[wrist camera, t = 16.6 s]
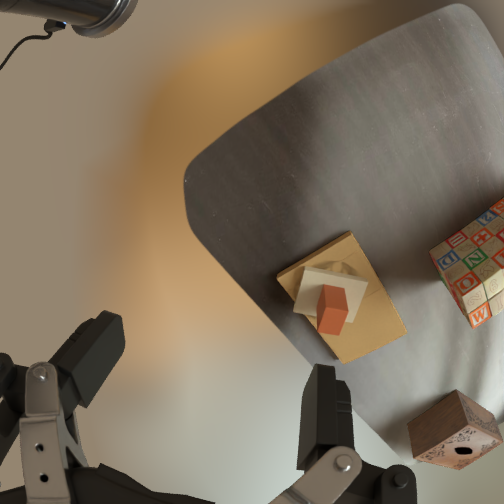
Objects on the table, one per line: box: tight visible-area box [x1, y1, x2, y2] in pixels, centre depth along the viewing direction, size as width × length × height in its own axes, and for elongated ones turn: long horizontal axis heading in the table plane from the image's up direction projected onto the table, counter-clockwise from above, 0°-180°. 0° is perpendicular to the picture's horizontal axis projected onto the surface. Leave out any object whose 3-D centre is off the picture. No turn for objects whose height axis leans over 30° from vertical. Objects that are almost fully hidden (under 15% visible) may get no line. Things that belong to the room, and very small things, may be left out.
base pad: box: [277, 231, 407, 364], centre depth 43 cm, size 20×12×2 cm, turn 38°
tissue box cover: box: [407, 389, 503, 470], centre depth 48 cm, size 26×14×10 cm, turn 57°
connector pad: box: [293, 266, 368, 336], centre depth 39 cm, size 9×7×8 cm
